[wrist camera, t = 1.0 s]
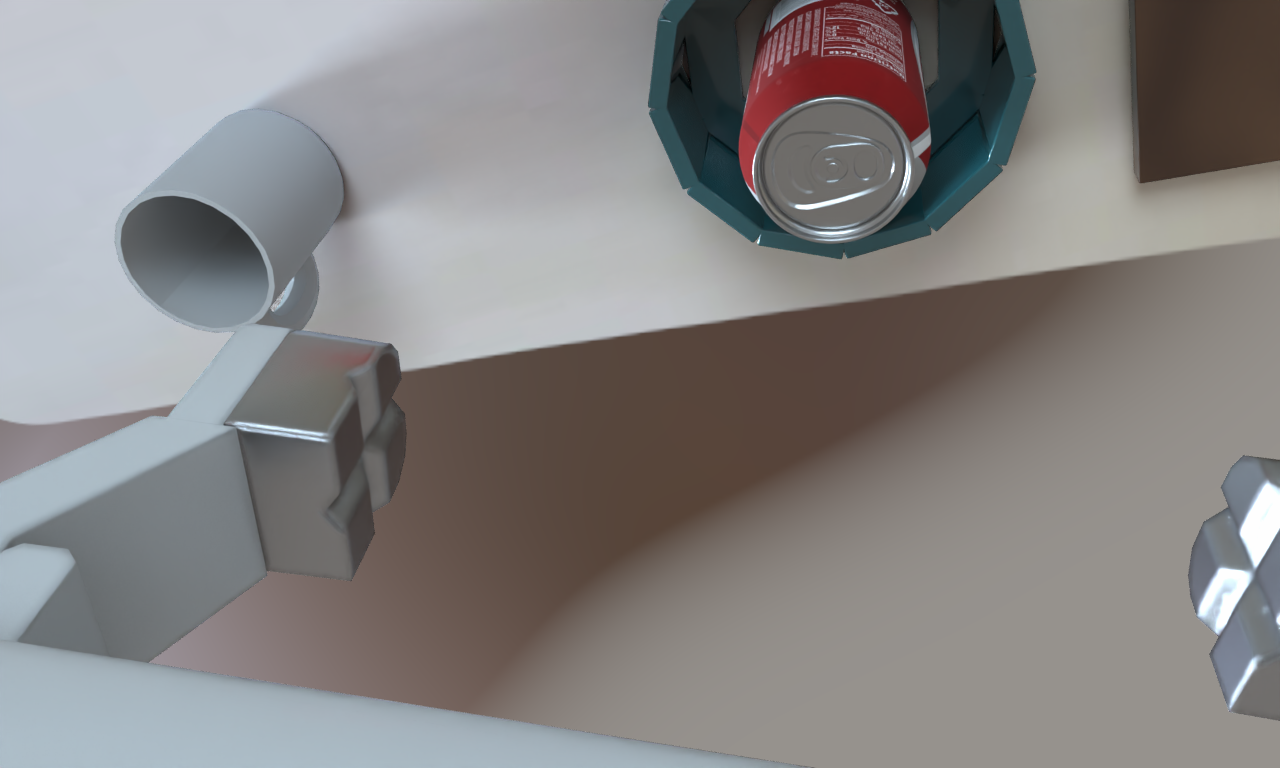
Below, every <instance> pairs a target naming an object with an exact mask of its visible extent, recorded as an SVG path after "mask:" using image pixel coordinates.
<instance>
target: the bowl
mask: <svg viewBox="0 0 1280 768" xmlns="http://www.w3.org/2000/svg"><path fill="white" fill-rule="evenodd" d="M750 1H751V0H666V1H665V3H664V6H663V8H662V11H661V14H660V16H659V18H658V23H657V31H656V40H655V49H654V57H653V66H652V75H651V84H650V92H649V101H648V107H649V108H651V109H650V111H649V115H650V117H651V119H652V121H653V124H654V126H655V128H656V130H657V133H658V135H659V137H660V139H661V142H662V144H663V146H664V148H665V150H666V153H667V155H668V157H669V159H670V162H671V164H672V166H673V168H674V171H675V173H676V175H677V177H678V179H679V182H680V184H681V186H682V188H683V189H687V188H688V191H687V194H688V195H689V196H691V197H692V198H693V199H695V200H696V201H697V202H699V203H700V204H701V205H703V206H704V207H706V208H707V209H708V210H710V211H711V212H712V213H714V214H715V215H716V216H718V217H719V218H720V219H722V220H723V221H724V222H726V223H727V224H728V225H730V226H731V227H732V228H734V229H735V230H736V231H738V232H739V233H740V234H742V235H743V236H745V237H746V238H747V239H749V240H750V241H751V242H754V241H755V240H756V239H757V238H758V237H759V238H758V245H760V246H766V247H772V248H778V249H784V250H790V251H795V252H801V253H807V254H813V255H819V256H825V257H831V258H837V259H842V257H843V253H845V255H846V257H847V258H852V257H855V256H859V255H862V254H866V253H869V252H873V251H876V250H879V249H883V248H886V247H890V246H893V245H897V244H900V243H904V242H907V241H910V240H914V239H917V238H921V237H924V236H928V235H931V228H932V229H934V230H935V231H938V230H939V229H940V228H941V227H942V226H943V225H944V224H945V223H946V222H947V221H949V220H950V219H951V218H952V217H953V216H954V215H955V214H956V213H957V212H958V211H960V210H961V209H962V208H963V207H964V206H965V205H966V204H967V203H968V202H969V201H970V200H972V199H973V198H974V197H975V196H976V195H977V194H978V193H979V192H980V191H981V190H982V189H984V188H985V187H986V186H987V185H988V184H989V183H990V182H991V181H992V180H993V179H995V178H996V177H997V176H998V175H999V174H1000V173H1001V172H1002V171H1003V169H1002V165H1007V163H1008V160H1009V157H1010V154H1011V151H1012V148H1013V145H1014V142H1015V139H1016V136H1017V134H1018V131H1019V128H1020V125H1021V122H1022V119H1023V116H1024V113H1025V110H1026V107H1027V104H1028V101H1029V98H1030V95H1031V92H1032V89H1033V86H1034V83H1035V80H1036V79H1035V75H1034V74H1035V73H1036V68H1035V64H1034V59H1033V55H1032V51H1031V47H1030V43H1029V39H1028V35H1027V31H1026V27H1025V23H1024V19H1023V15H1022V11H1021V6H1020V2H1019V0H938V79H937V80H936V81H935V82H934V83H933V84H932V85H931V86H930V87H929V88H928V89H927V90H926V91H925V95H926V102H927V110H928V118H929V125H930V134H931V152H930V159H929V163H928V167H927V170H926V173H925V175H924V178H923V180H922V182H921V184H920V186H919V187H918V189H917V190H916V192H915V193H914V195H913V196H912V197H911V199H910V200H909V201H908V202H907V203H906V204H905V205H904V206H903V207H902V209H901V210H900V211H899V213H898V214H897V215H896V216H895V217H894V218H893V219H892V220H891V221H890V222H889V223H888V224H887V225H885V226H884V227H883V228H881V229H880V230H878V231H876V232H875V233H873V234H871V235H869V236H866V237H864V238H861V239H858V240H855V241H851V242H846V243H835V244H827V243H817V242H812V241H808V240H805V239H802V238H799V237H797V236H794V235H793V234H791V233H789V232H787V231H786V230H784V229H782V228H781V227H780V226H779V225H777V224H776V223H775V222H774V221H773V220H772V219H771V218H770V217H769V216H768V214H767V213H766V212H765V210H764V209H763V207H762V206H761V205H760V204H759V202H758V201H757V200H756V199H755V197H754V196H753V194H752V193H751V191H750V190H749V188H748V186H747V184H746V181H745V179H744V177H743V173H742V170H741V166H740V160H739V138H740V131H741V126H742V121H743V116H744V110H745V105H746V100H747V99H746V98H745V97H743V91H742V82H741V73H740V63H739V54H738V44H737V35H736V25H735V20H736V18H737V17H738V16H739V15H740V13H741V12H742V11H743V10H744V8H745V7H746V6H747V5H748V4H749V2H750ZM994 8H995V12H996V15H997V19H998V23H999V27H1000V31H1001V35H1000V38H999V41H998V45H997V48H996V51H995V54H994V58H993V33H994ZM685 43H686V51H687V58H688V66H689V73H690V81H691V84H690V82H689V80H688V77H687V75H686V73H685V70H684V68H683V65H682V59H683V51H684V44H685ZM970 117H971V118H970ZM969 118H970V119H969ZM937 149H938V150H937ZM936 150H937V151H936ZM935 151H936V152H935Z"/></svg>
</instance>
